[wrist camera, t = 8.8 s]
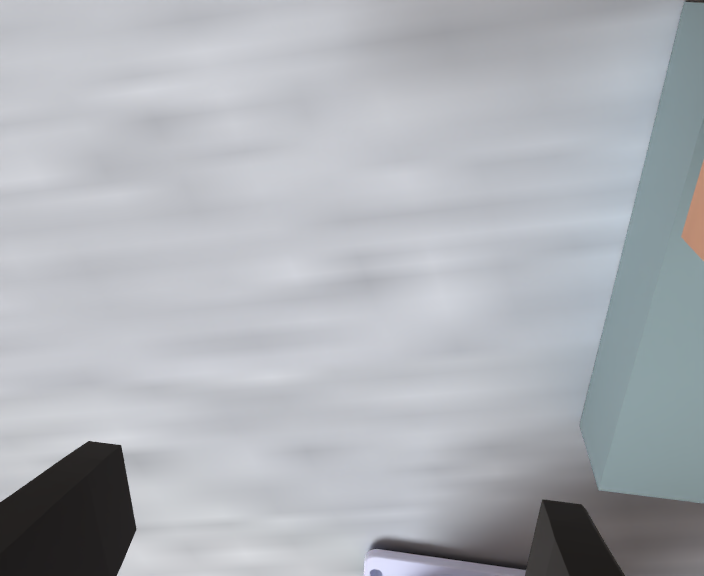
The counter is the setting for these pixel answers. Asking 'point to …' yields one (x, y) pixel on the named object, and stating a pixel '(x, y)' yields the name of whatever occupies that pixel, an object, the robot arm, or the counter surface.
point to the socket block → (657, 308)
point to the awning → (696, 218)
